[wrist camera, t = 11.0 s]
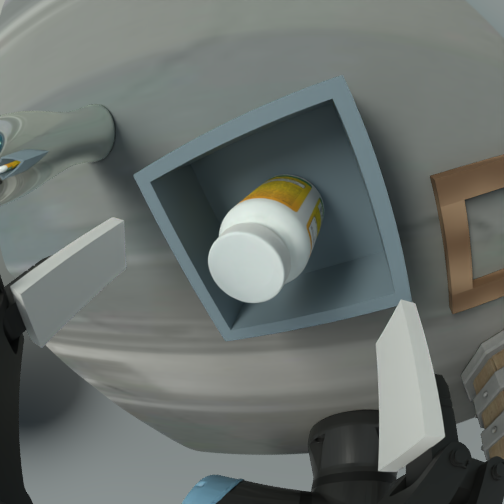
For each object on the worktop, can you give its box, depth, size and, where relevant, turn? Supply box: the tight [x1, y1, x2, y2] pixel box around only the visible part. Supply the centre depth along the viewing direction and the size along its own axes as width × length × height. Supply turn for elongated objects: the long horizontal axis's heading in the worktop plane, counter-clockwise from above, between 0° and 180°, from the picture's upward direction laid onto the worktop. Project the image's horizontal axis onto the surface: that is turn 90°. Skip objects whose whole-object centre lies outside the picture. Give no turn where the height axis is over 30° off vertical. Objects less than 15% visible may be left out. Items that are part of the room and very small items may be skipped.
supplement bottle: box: [208, 174, 324, 303], centre depth 18 cm, size 5×5×10 cm
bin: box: [133, 75, 412, 341], centre depth 20 cm, size 14×14×7 cm
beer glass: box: [0, 104, 115, 207], centre depth 18 cm, size 7×7×15 cm
